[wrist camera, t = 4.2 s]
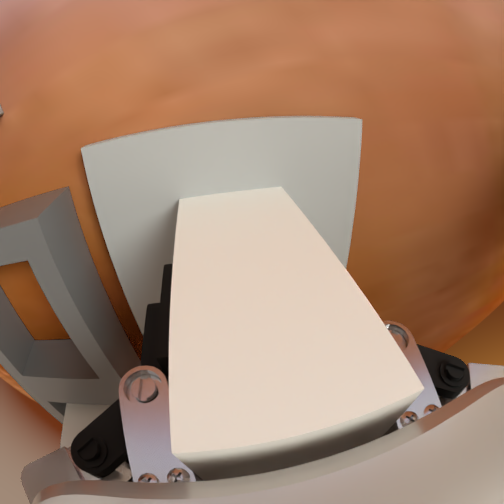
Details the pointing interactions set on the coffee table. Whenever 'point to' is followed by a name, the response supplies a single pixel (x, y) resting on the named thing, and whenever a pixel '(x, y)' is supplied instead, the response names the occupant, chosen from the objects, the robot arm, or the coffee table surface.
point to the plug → (272, 342)
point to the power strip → (61, 310)
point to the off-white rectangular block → (78, 420)
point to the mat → (217, 184)
